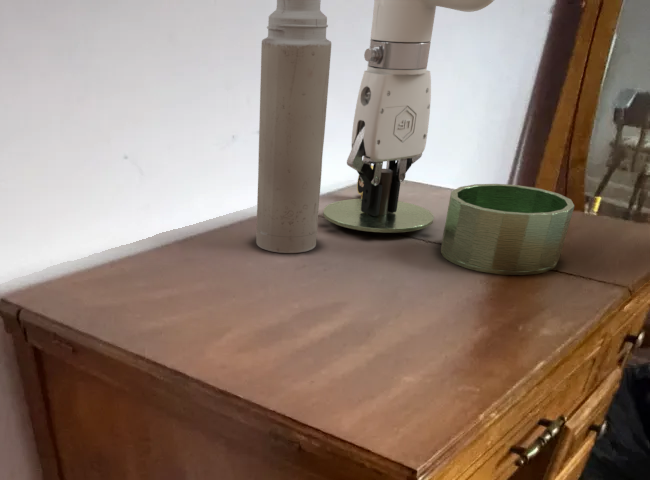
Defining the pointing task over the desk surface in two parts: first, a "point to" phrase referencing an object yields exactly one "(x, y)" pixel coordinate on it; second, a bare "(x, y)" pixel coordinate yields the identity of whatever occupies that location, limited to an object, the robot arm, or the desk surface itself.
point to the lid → (384, 222)
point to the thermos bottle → (292, 126)
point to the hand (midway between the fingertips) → (378, 210)
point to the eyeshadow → (361, 185)
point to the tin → (505, 228)
